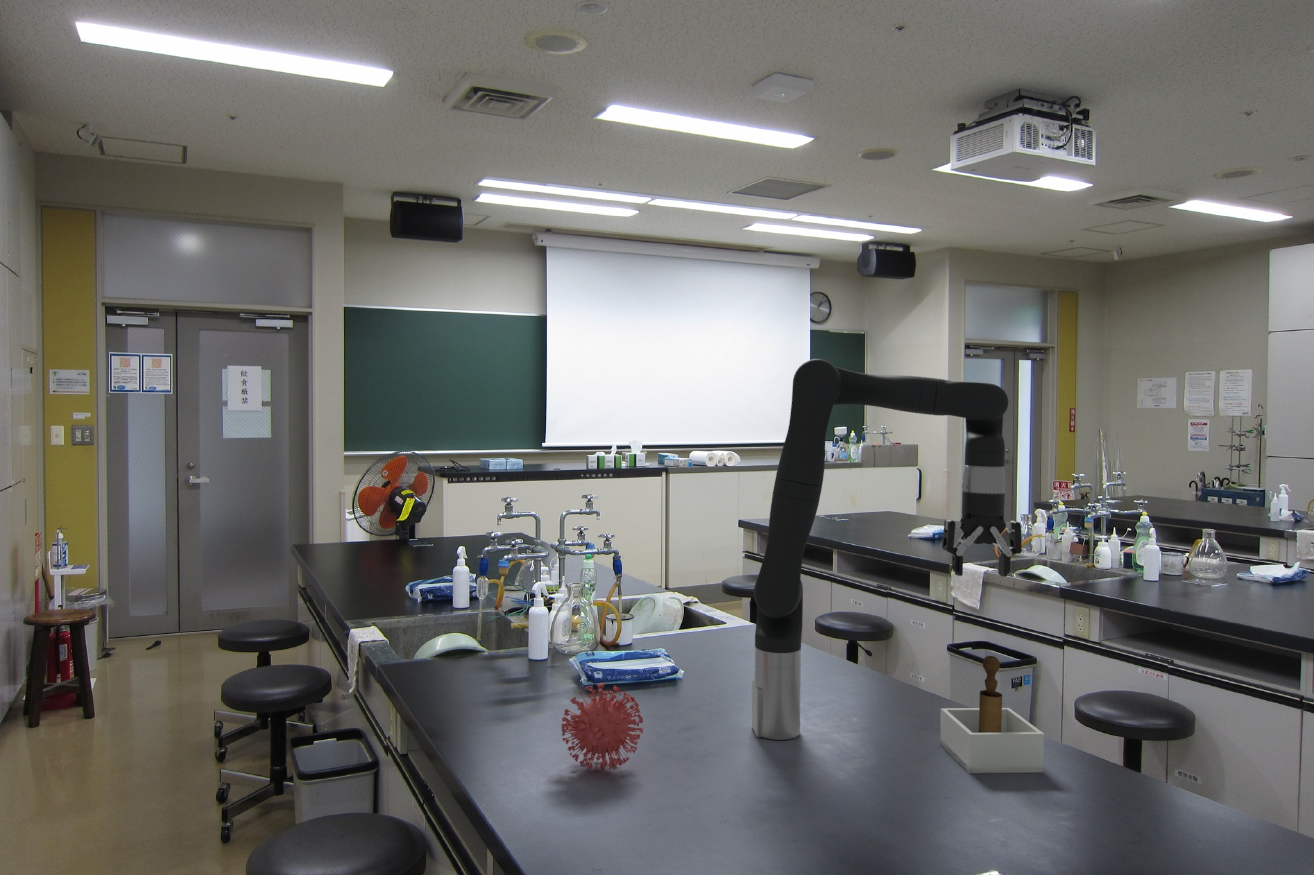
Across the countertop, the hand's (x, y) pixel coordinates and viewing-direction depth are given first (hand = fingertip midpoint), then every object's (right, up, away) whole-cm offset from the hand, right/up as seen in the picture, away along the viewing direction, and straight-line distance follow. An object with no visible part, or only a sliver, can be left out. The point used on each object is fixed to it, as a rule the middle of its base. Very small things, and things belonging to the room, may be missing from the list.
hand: (980, 575), depth 161 cm
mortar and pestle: (+1, -33, -1) cm, 33 cm away
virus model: (-71, -34, -7) cm, 79 cm away
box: (+1, -34, -1) cm, 34 cm away
